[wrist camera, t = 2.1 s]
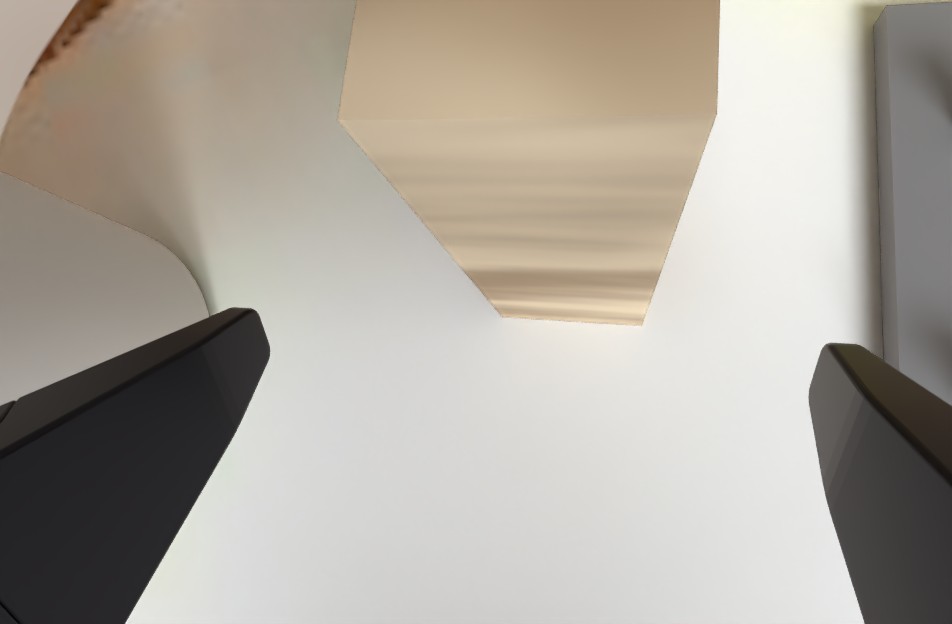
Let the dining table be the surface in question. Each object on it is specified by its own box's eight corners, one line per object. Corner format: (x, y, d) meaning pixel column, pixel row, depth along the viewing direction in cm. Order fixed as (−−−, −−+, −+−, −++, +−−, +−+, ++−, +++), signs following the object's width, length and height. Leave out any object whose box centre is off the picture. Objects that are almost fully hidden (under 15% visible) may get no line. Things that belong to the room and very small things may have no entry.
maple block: (642, 325, 20) (716, 114, 7) (502, 317, 22) (337, 120, 8) (648, 192, 21) (726, -219, 8) (514, 191, 22) (384, -172, 9)
